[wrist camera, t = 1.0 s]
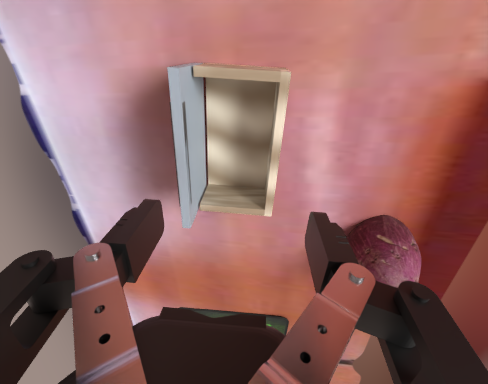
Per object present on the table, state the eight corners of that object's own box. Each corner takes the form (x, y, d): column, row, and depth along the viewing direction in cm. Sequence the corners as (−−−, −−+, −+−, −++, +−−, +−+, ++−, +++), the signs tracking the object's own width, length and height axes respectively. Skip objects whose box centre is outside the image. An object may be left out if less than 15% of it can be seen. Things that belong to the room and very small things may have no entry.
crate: (206, 62, 31) (193, 65, 25) (285, 67, 30) (291, 72, 24) (209, 186, 40) (199, 210, 34) (270, 191, 40) (271, 216, 34)
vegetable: (385, 247, 48) (429, 332, 37) (335, 247, 47) (366, 333, 36) (416, 213, 41) (482, 306, 30) (357, 212, 40) (404, 308, 29)
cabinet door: (193, 62, 30) (165, 67, 21) (202, 63, 30) (178, 67, 21) (199, 188, 39) (181, 227, 30) (206, 189, 39) (190, 228, 30)
